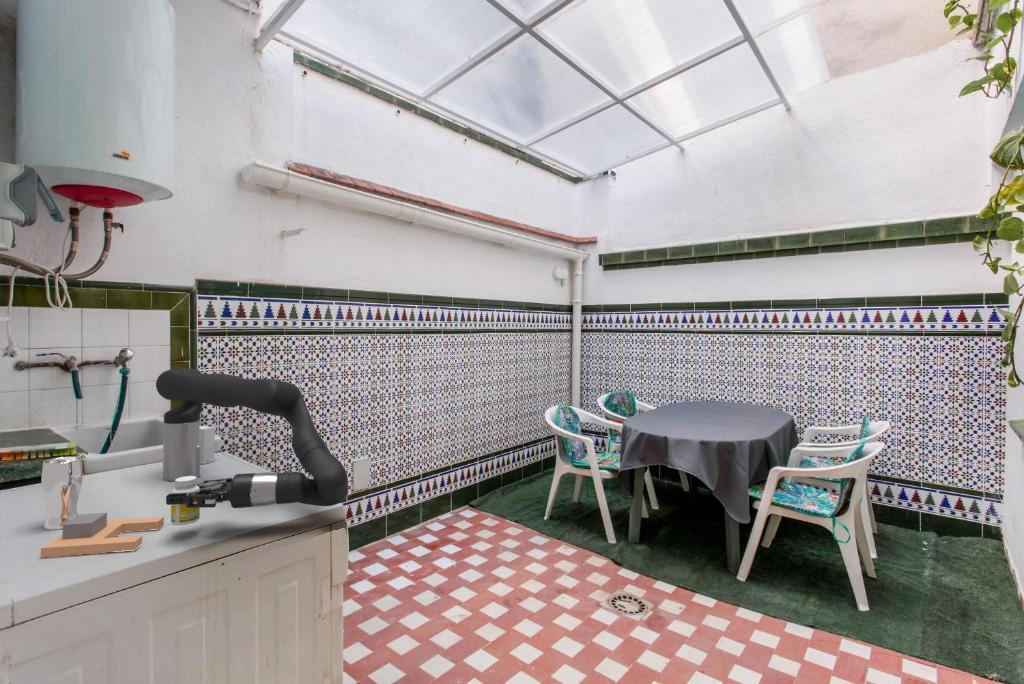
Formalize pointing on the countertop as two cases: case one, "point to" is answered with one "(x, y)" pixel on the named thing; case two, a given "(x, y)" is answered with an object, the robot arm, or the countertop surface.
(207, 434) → the skincare box
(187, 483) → the supplement bottle
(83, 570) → the countertop surface
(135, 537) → the orange forked bracket
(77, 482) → the beer glass
